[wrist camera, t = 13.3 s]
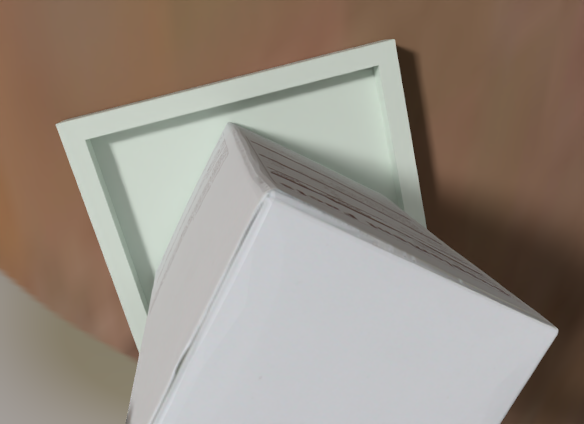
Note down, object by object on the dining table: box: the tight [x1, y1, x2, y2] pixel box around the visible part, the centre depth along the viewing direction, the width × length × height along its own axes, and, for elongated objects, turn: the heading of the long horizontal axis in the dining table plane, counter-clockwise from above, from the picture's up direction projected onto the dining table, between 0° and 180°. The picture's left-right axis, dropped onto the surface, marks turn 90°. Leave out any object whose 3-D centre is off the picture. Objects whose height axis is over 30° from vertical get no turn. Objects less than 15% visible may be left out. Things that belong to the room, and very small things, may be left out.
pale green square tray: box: [56, 39, 427, 354], centre depth 23 cm, size 13×13×1 cm
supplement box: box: [126, 122, 558, 424], centre depth 17 cm, size 7×7×13 cm
